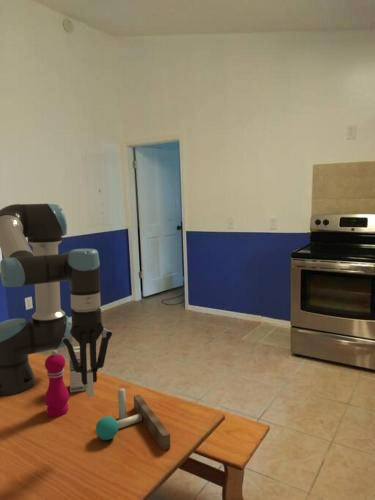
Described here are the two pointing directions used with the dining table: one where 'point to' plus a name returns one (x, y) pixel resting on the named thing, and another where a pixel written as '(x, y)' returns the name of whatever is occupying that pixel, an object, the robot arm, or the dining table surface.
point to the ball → (106, 428)
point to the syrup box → (75, 374)
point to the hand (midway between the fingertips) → (89, 394)
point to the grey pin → (122, 403)
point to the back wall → (152, 422)
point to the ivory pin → (129, 421)
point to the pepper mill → (56, 386)
